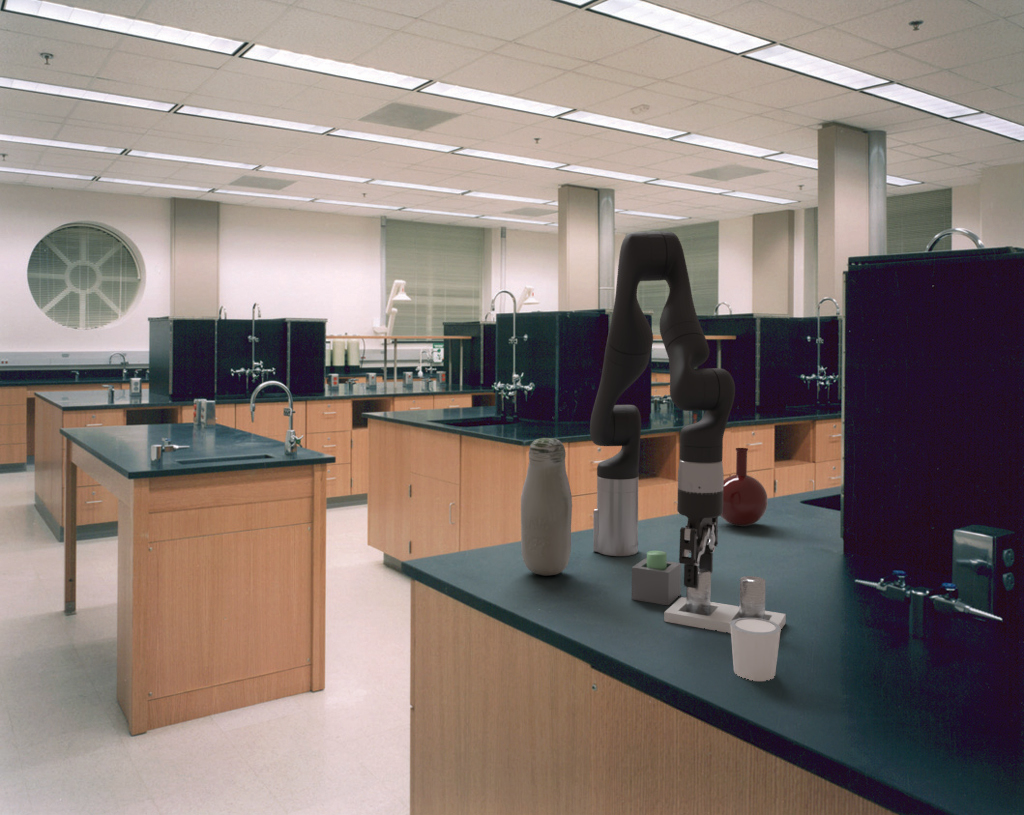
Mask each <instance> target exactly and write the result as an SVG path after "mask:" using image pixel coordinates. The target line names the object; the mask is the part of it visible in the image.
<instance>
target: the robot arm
mask: <svg viewBox="0 0 1024 815" xmlns="http://www.w3.org/2000/svg"><path fill="white" fill-rule="evenodd" d="M618 256H619V257H618V258H619V259H618V265H617V278H616V287H615V295H614V296H615V297H614V303H613V308H612V317H611V320H610V325H609V329H608V335H607V340H606V345H605V351H604V357H603V365H602V371H601V377H600V382H599V385H598V386H599V387H598V390H597V393H596V397H595V401H594V404H593V407H592V412H591V415H590V416H591V417H590V423H589V436H590V439H591V441H592V442H593V444H594V445H595V446H599V447H621V449H620V450H619V451H618V452H617V453H616V454H615V455H613V456H612V457H609V458H607V459H605V460H602V461H600V462H599V463H598V464H597V466H596V508H595V509H593V515H592V516H593V518H592V519H593V531H592V532H593V533H592V535H593V536H592V538H593V546H592V548H593V552H595V553H599V554H601V555H605V556H611V557H627V556H628V557H629V556H633V555H636V554H637V553H638V551H639V466H640V454H641V453H640V450H641V447H640V446H641V436H642V434H641V433H642V416H641V413H640V410H639V408H638V407H637V406H636V405H634V404H616V403H617V401H618V400H619V398H620V397H621V396H622V394H624V392H625V391H626V390H627V389H628V388H630V387H631V385H633V384H634V383H635V382H636V380H638V379H639V378H640V376H641V375H642V374H643V373H644V372H645V370H646V369H647V366H648V365H649V361H650V356H651V352H652V349H653V343H654V333H653V330H652V328H651V325H650V323H649V321H648V320H647V318H646V316H645V314H644V312H643V310H642V307H641V306H640V303H639V300H638V286H639V284H640V282H653V281H655V282H656V281H659V282H660V281H665V282H666V283H667V285H668V287H669V294H668V297H667V300H666V302H665V304H664V307H663V309H662V312H661V313H660V314H661V315H660V317H659V318H660V319H659V333H660V337H661V339H662V343H663V345H664V348H665V352H666V354H667V355H666V356H667V357H668V365H669V394H670V395H669V396H670V399H671V402H672V403H673V404H674V406H676V408H678V409H679V410H681V411H685V412H691V411H692V412H694V411H695V412H697V411H698V412H700V411H704V414H703V416H702V418H701V419H700V420H699V421H698V422H694V423H691V424H688V425H686V426H684V427H682V428H681V429H680V433H679V434H680V436H679V464H678V470H677V501H676V502H677V508H676V510H677V512H678V514H679V515H681V516H685V517H686V518H687V524H686V525H685V527H683V526H680V530H679V553H678V555H679V556H678V563H681V565H683V566H684V567H683V568H684V570H683V571H684V572H683V579H684V580H683V585H684V587H685V588H687V587H690V588H696V587H697V586H698V570H699V569H705V570H708V571H710V572H711V574H712V573H713V562H714V561H713V560H714V559H713V558H714V552H715V550H716V547H718V544H719V540H718V539H719V537H718V536H719V535H718V531H719V529H718V527H719V526H718V525H719V524H718V523H719V522H718V520H719V517H721V515H722V513H723V481H724V480H725V478H724V465H723V455H724V454H723V449H724V446H723V445H724V444H723V443H724V434H725V431H726V427H727V424H728V420H729V417H730V413H731V410H732V408H733V404H734V400H735V396H736V394H735V393H736V385H735V381H734V378H733V376H732V375H731V373H730V372H729V371H727V370H726V369H724V368H721V367H720V368H717V367H715V368H710V367H708V368H698V367H700V366H701V365H703V364H704V363H706V361H707V360H708V358H709V356H710V348H709V344H708V341H707V339H706V336H705V333H704V331H703V328H702V326H701V323H700V321H699V317H698V315H697V312H696V309H695V304H694V300H693V299H694V298H693V292H692V290H691V289H692V288H691V283H690V278H689V277H690V276H689V271H688V267H687V266H688V265H687V263H686V257H685V252H684V249H683V246H682V242H681V241H680V238H679V237H678V235H677V234H675V233H674V232H673V231H666V230H663V231H662V230H658V231H656V230H655V231H652V230H650V231H645V230H644V231H632V232H628V233H627V234H626V235H625V236H624V237H623V239H622V242H621V245H620V251H619V255H618ZM689 555H690V556H689Z"/></svg>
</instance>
